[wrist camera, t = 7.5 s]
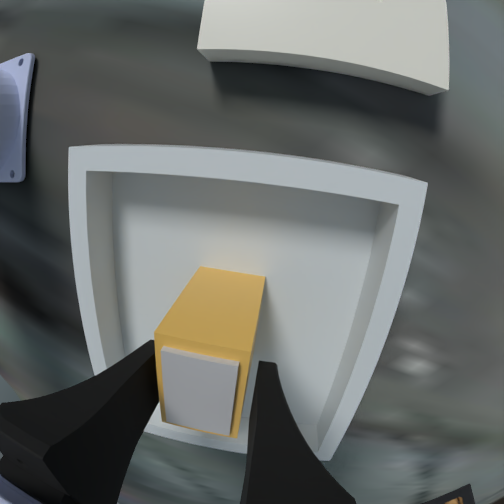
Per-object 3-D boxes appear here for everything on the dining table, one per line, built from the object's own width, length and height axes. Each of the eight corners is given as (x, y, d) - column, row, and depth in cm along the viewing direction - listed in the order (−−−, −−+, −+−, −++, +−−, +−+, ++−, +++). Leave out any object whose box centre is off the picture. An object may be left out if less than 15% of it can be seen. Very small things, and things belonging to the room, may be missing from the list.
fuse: (196, 344, 16) (159, 425, 10) (200, 266, 14) (150, 336, 9) (253, 355, 15) (235, 443, 10) (265, 276, 14) (250, 356, 9)
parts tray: (125, 390, 19) (107, 419, 16) (105, 144, 13) (68, 147, 11) (327, 425, 18) (329, 460, 15) (400, 174, 12) (427, 182, 10)
